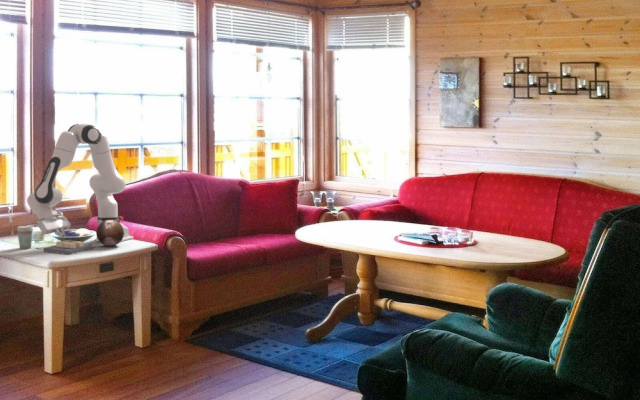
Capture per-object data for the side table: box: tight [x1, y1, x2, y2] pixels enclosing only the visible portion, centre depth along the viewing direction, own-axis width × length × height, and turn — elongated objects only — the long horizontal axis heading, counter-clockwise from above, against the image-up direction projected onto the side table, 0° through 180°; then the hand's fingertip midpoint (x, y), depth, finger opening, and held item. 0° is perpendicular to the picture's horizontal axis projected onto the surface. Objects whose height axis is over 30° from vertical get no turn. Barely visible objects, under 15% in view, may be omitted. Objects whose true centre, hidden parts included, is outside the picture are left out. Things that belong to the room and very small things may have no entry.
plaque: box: [55, 239, 85, 249], centre depth 444 cm, size 8×3×12 cm
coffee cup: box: [16, 225, 34, 250], centre depth 449 cm, size 8×8×12 cm
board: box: [42, 244, 93, 255], centre depth 445 cm, size 18×18×2 cm
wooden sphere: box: [95, 220, 124, 247], centre depth 459 cm, size 15×15×15 cm
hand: (63, 236), depth 445 cm, fingers closed
